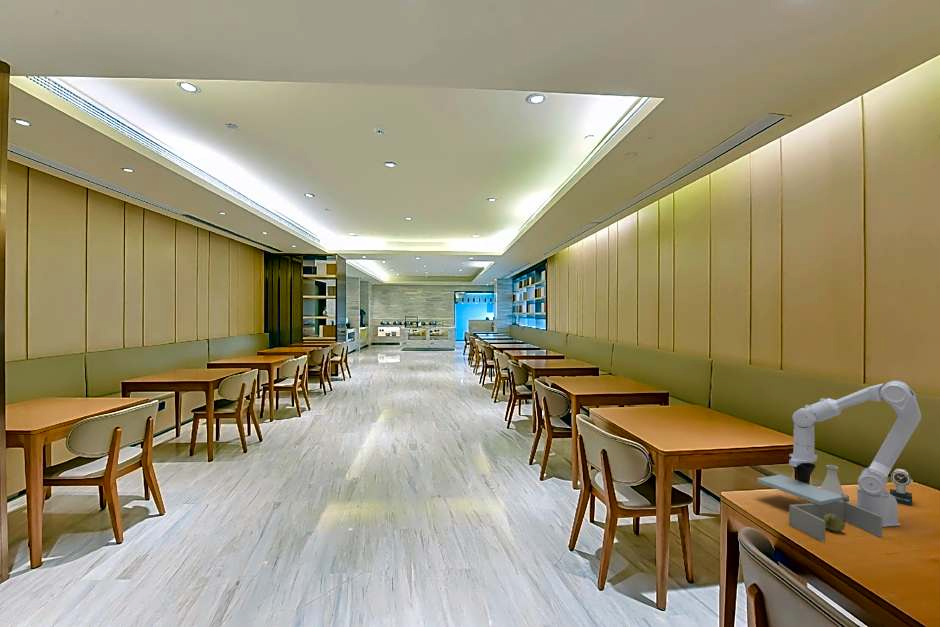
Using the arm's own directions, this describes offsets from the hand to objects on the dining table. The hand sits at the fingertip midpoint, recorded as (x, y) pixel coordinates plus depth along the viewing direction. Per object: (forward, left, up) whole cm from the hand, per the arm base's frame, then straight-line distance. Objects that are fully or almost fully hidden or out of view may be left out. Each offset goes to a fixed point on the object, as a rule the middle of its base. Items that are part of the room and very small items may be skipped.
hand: (803, 484), depth 151 cm
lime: (+9, +18, -7) cm, 21 cm away
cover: (+5, +4, 0) cm, 7 cm away
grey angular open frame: (+8, +19, -6) cm, 21 cm away
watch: (-35, +4, -7) cm, 36 cm away
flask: (-18, -5, -7) cm, 20 cm away
